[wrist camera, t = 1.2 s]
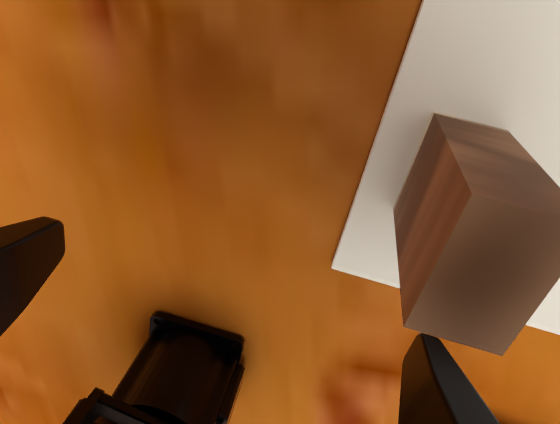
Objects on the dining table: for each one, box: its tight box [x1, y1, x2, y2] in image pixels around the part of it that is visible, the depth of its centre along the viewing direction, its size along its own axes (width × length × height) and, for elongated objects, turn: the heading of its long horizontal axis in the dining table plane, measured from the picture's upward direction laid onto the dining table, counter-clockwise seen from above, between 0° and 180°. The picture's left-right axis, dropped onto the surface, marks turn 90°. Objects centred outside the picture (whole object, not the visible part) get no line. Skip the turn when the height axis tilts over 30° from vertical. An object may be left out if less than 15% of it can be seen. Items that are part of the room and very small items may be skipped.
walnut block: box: [393, 111, 560, 356], centre depth 15 cm, size 3×5×8 cm, turn 168°
